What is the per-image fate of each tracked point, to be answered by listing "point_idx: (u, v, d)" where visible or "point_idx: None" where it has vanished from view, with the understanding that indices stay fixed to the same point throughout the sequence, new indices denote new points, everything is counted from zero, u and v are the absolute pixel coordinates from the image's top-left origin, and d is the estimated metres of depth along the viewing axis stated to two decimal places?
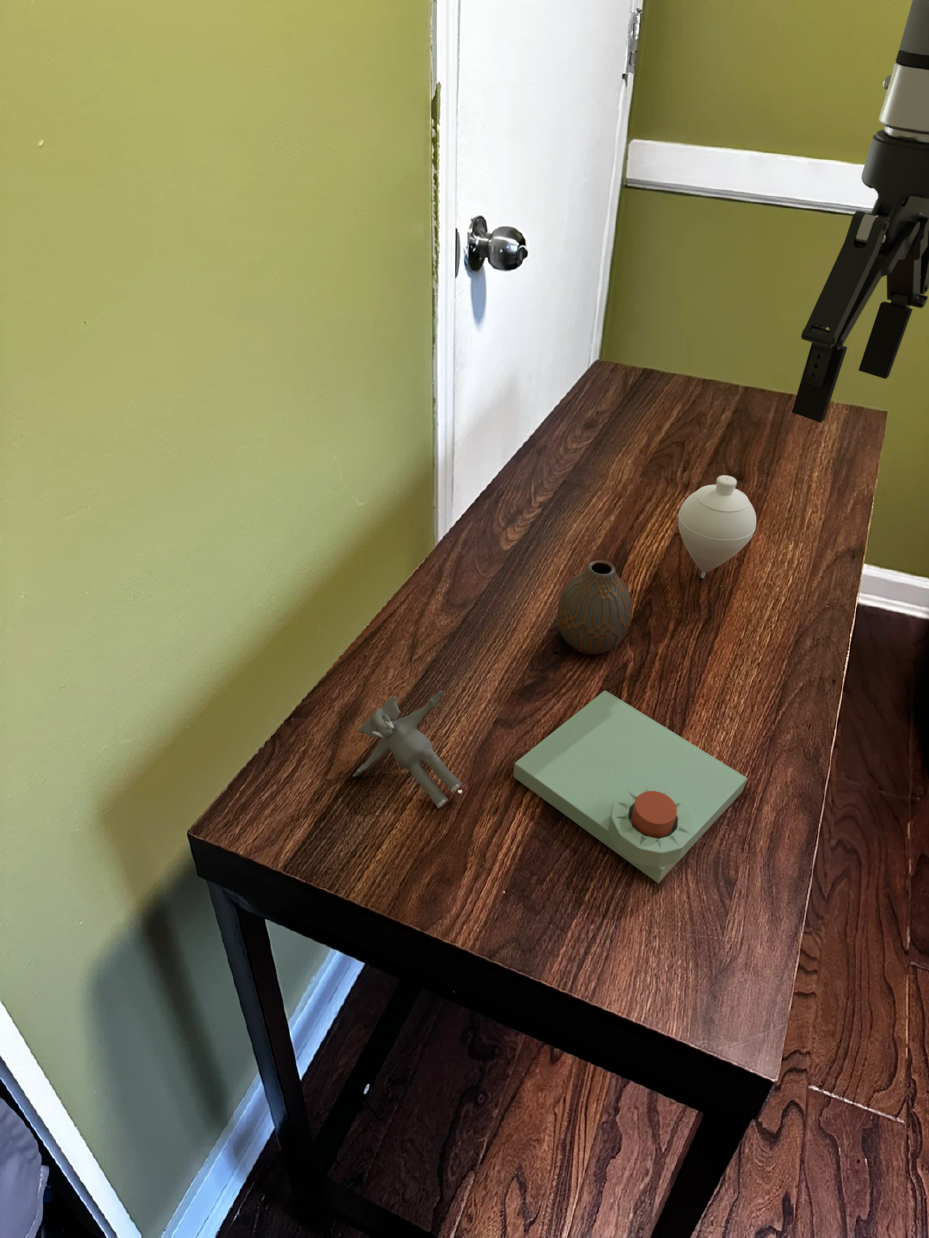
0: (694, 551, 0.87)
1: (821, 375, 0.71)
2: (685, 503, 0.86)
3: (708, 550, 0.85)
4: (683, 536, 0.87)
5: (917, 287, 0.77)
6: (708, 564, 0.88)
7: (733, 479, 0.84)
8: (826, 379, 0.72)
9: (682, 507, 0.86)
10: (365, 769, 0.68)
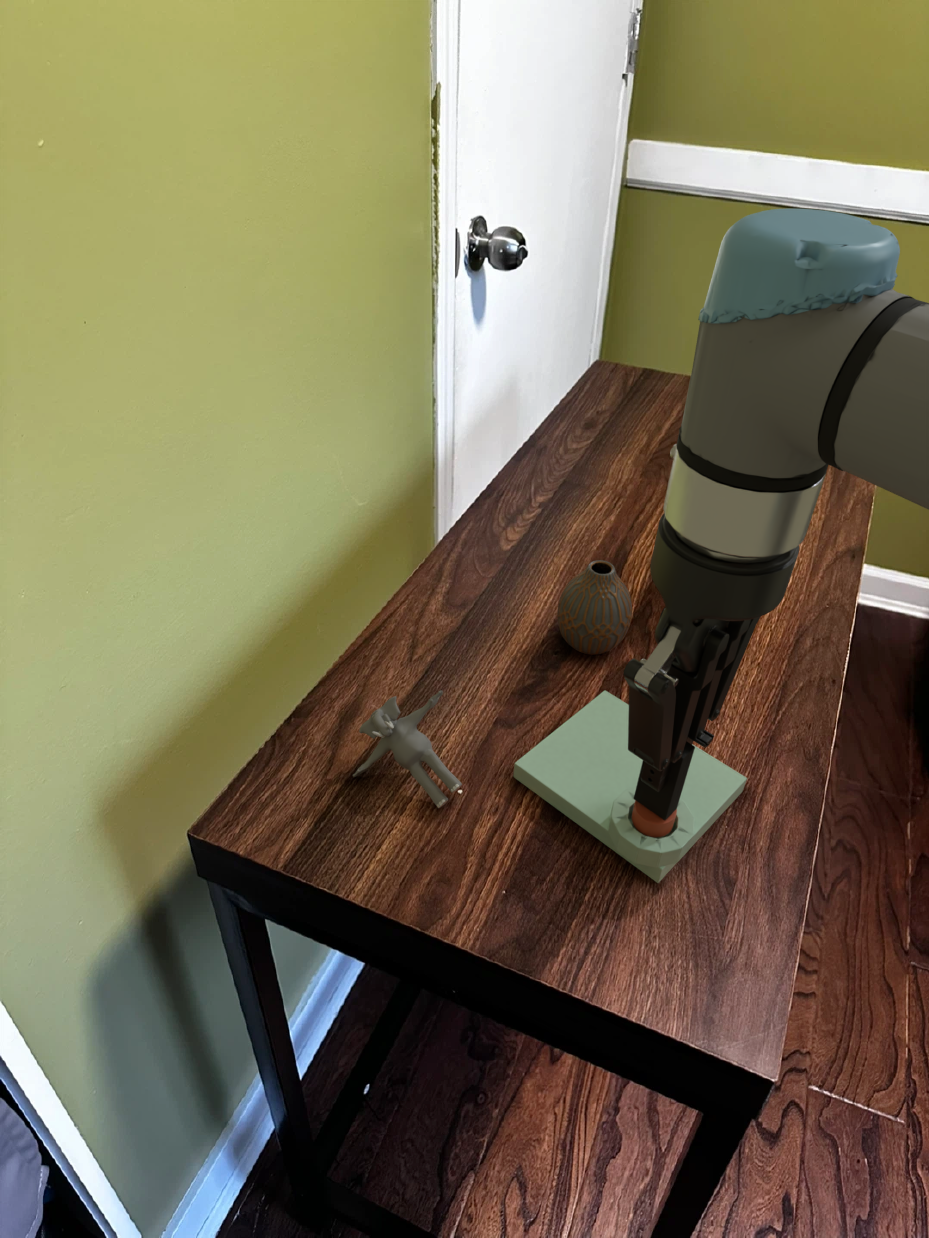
0: None
1: (658, 783, 0.57)
2: None
3: None
4: None
5: (706, 716, 0.56)
6: None
7: None
8: (667, 780, 0.58)
9: None
10: (365, 769, 0.68)
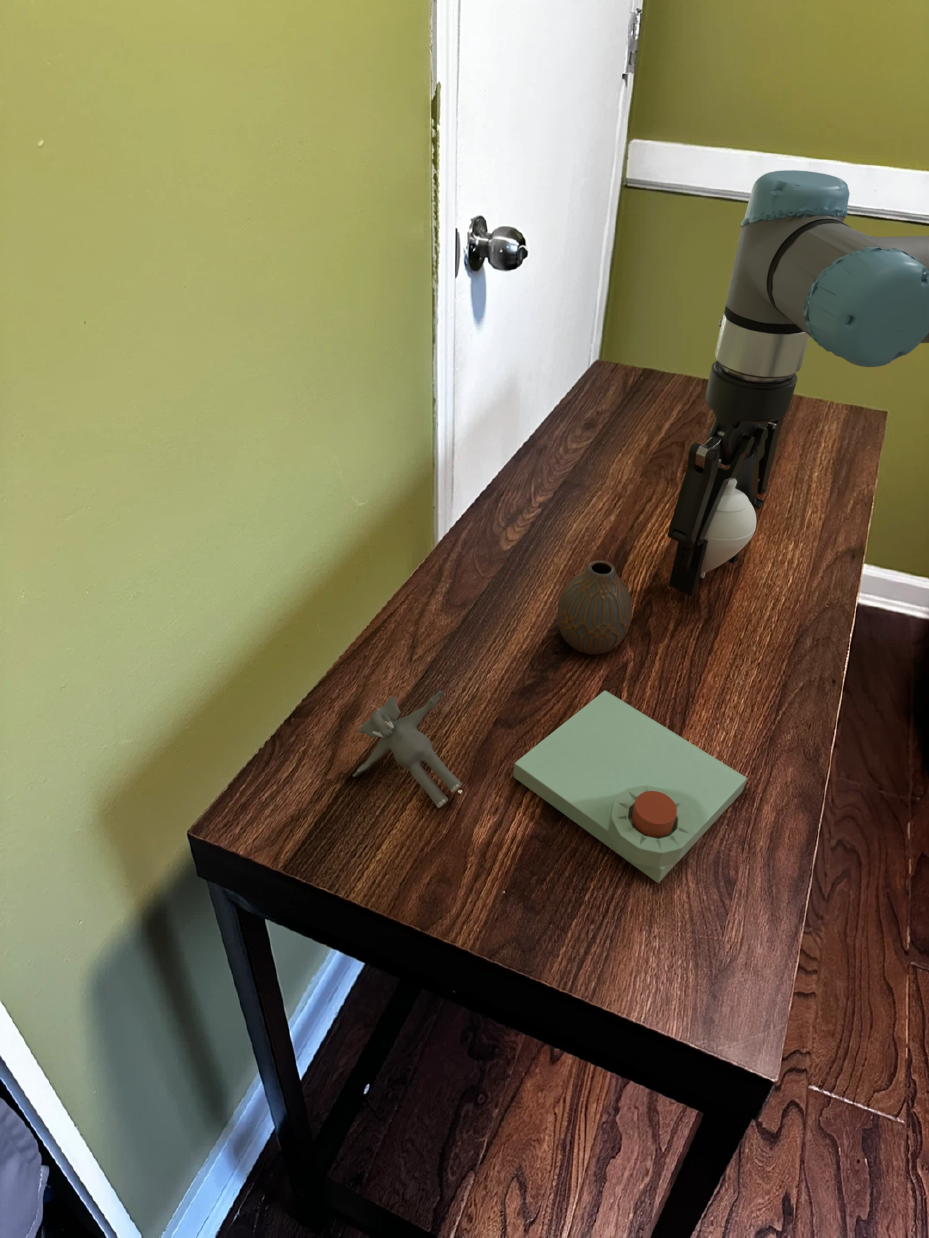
0: None
1: (687, 563, 0.84)
2: None
3: (708, 550, 0.85)
4: None
5: (755, 490, 0.88)
6: (708, 564, 0.88)
7: (733, 479, 0.84)
8: (692, 564, 0.86)
9: None
10: (365, 769, 0.68)
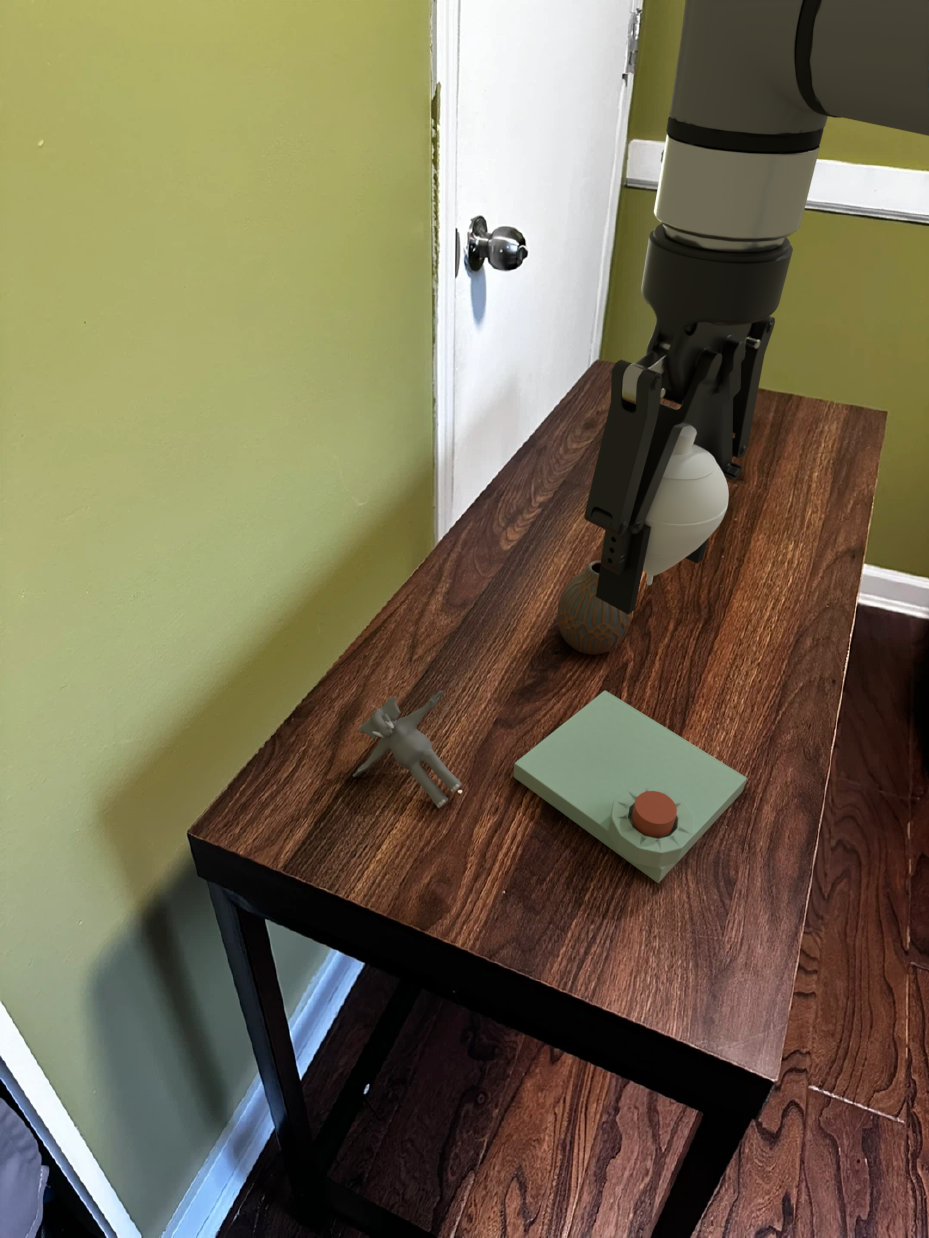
0: None
1: (618, 562, 0.53)
2: None
3: (653, 541, 0.54)
4: None
5: (729, 450, 0.56)
6: (655, 563, 0.57)
7: (691, 428, 0.53)
8: (629, 564, 0.54)
9: None
10: (365, 769, 0.68)
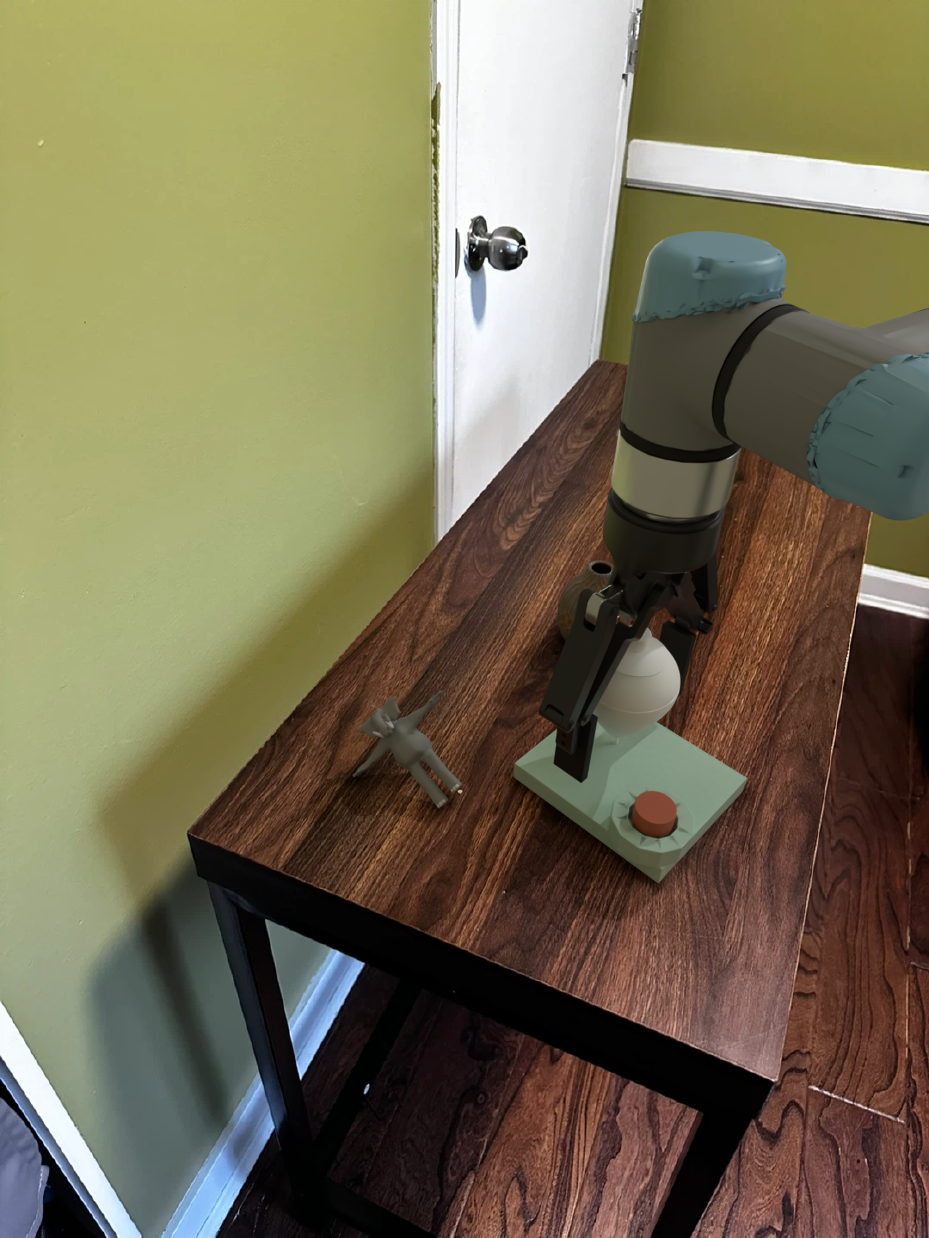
0: (598, 720, 0.65)
1: (570, 746, 0.61)
2: None
3: (615, 722, 0.64)
4: None
5: (698, 615, 0.67)
6: (619, 734, 0.66)
7: (647, 631, 0.62)
8: (580, 744, 0.62)
9: None
10: (365, 769, 0.68)
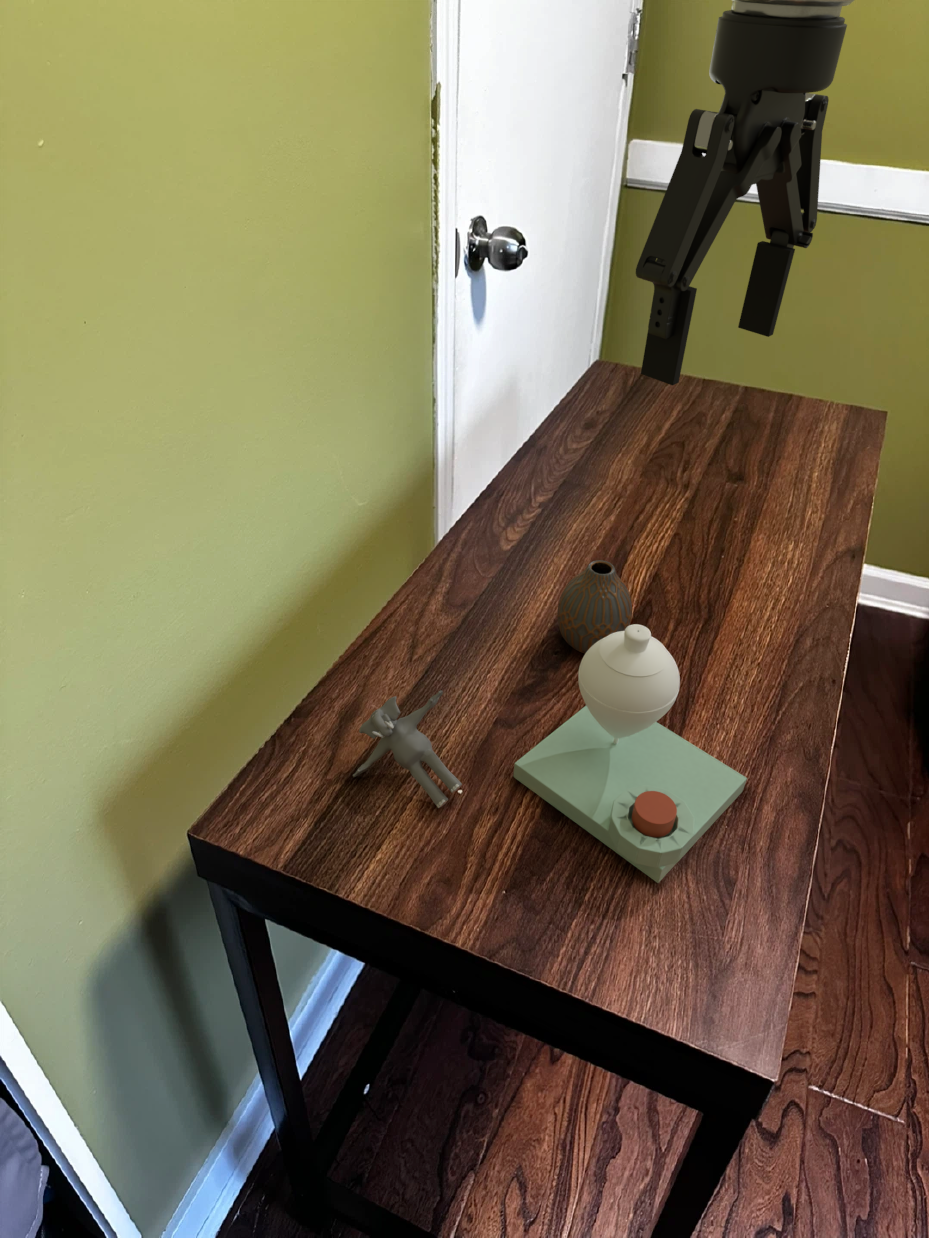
0: (598, 720, 0.65)
1: (666, 324, 0.57)
2: (586, 657, 0.65)
3: (615, 722, 0.64)
4: (584, 700, 0.65)
5: (799, 221, 0.63)
6: (619, 734, 0.66)
7: (646, 631, 0.62)
8: (675, 330, 0.58)
9: (582, 662, 0.65)
10: (365, 769, 0.68)
